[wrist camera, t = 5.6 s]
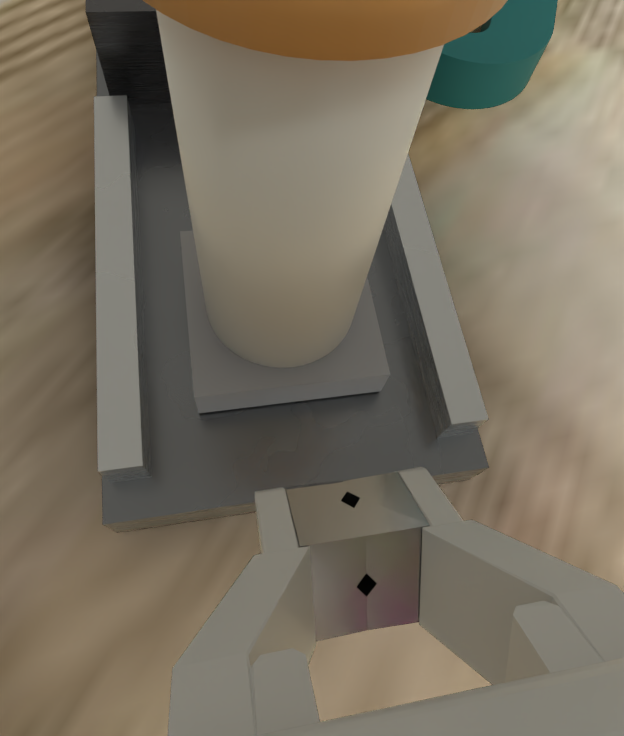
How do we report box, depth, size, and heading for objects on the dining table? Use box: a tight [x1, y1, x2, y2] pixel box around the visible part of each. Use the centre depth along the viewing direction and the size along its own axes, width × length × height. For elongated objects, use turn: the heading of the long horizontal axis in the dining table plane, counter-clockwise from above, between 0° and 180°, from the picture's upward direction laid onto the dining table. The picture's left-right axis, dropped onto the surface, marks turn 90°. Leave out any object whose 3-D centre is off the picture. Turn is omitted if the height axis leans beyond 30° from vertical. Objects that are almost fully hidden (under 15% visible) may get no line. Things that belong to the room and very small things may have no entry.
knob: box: [143, 0, 508, 413], centre depth 10 cm, size 5×5×12 cm
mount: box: [86, 0, 489, 533], centre depth 17 cm, size 19×10×5 cm, turn 9°
